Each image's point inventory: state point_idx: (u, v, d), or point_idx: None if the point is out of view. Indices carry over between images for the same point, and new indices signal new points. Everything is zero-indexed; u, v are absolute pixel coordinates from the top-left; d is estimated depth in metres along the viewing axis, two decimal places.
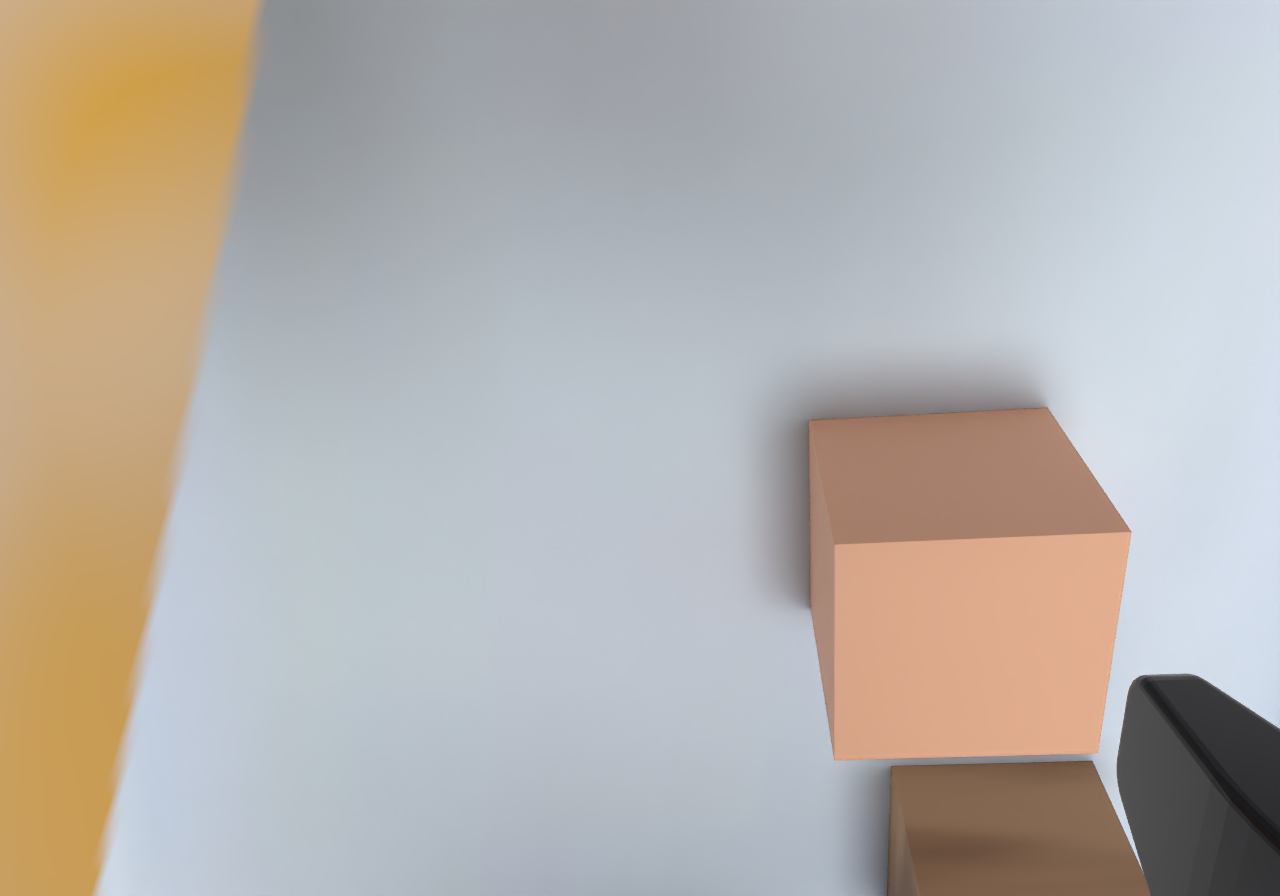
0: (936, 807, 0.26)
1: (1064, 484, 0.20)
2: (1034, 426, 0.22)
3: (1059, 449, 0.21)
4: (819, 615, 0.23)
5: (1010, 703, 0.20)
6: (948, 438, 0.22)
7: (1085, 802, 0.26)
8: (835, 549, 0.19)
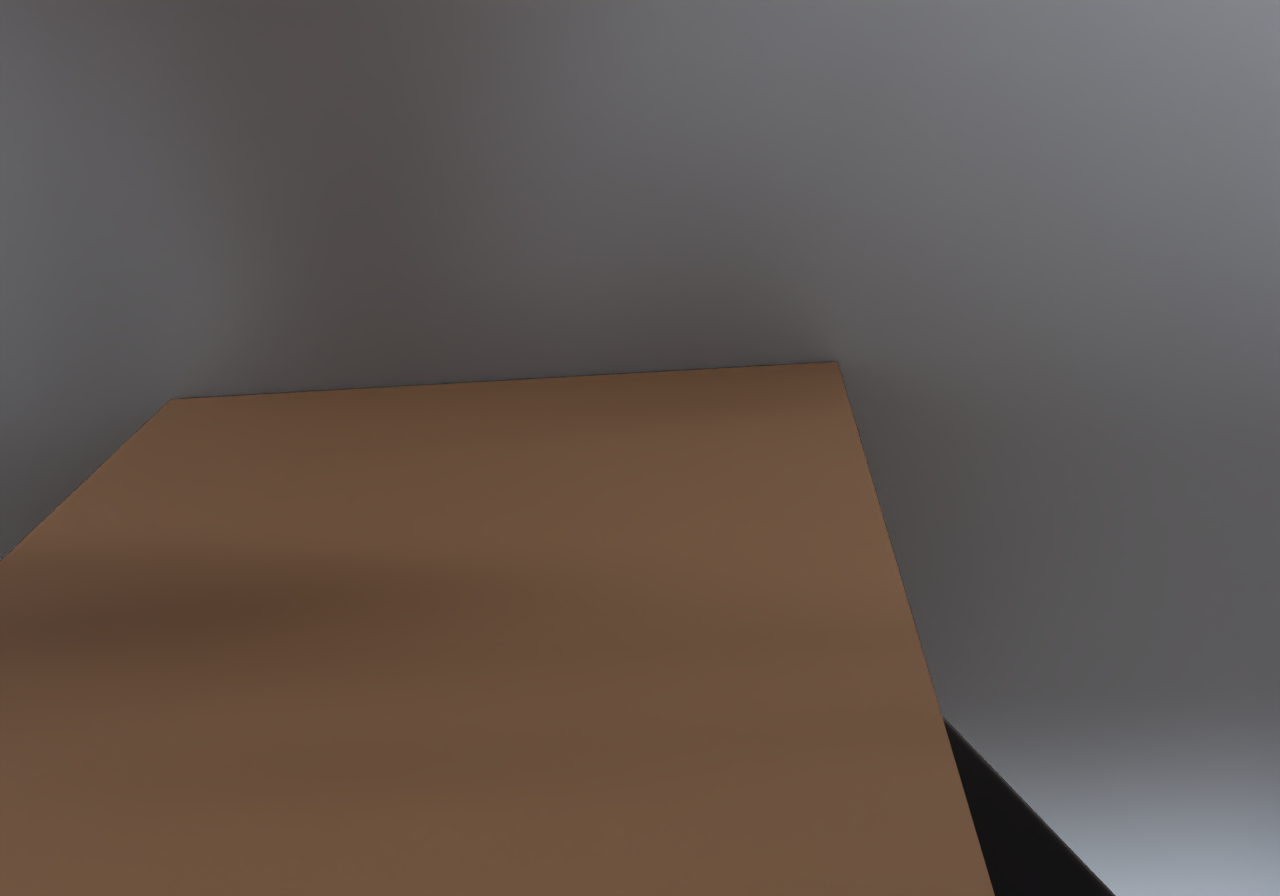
0: (196, 492, 0.07)
1: None
2: None
3: None
4: None
5: None
6: None
7: (765, 460, 0.06)
8: None
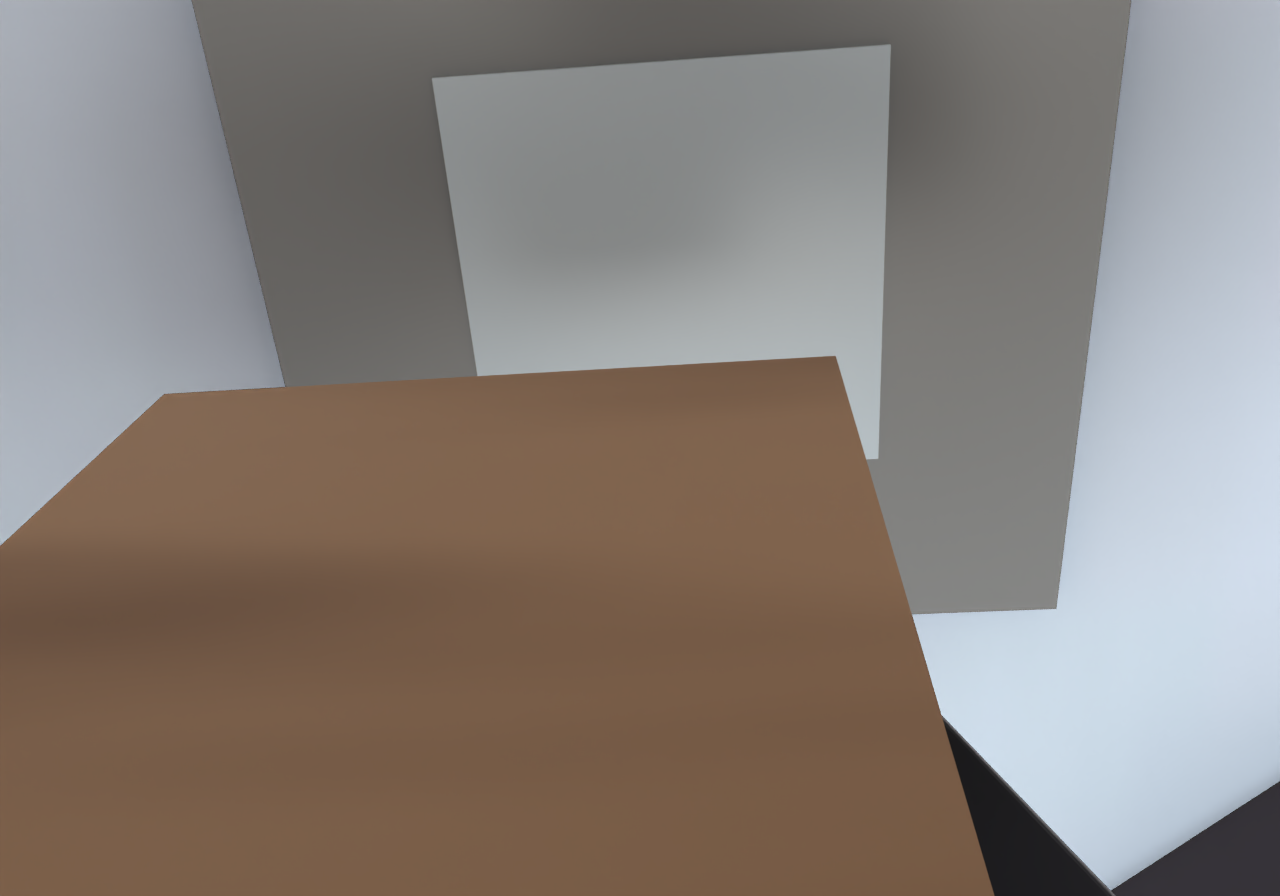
0: (188, 486, 0.07)
1: None
2: None
3: None
4: None
5: None
6: None
7: (762, 454, 0.06)
8: None
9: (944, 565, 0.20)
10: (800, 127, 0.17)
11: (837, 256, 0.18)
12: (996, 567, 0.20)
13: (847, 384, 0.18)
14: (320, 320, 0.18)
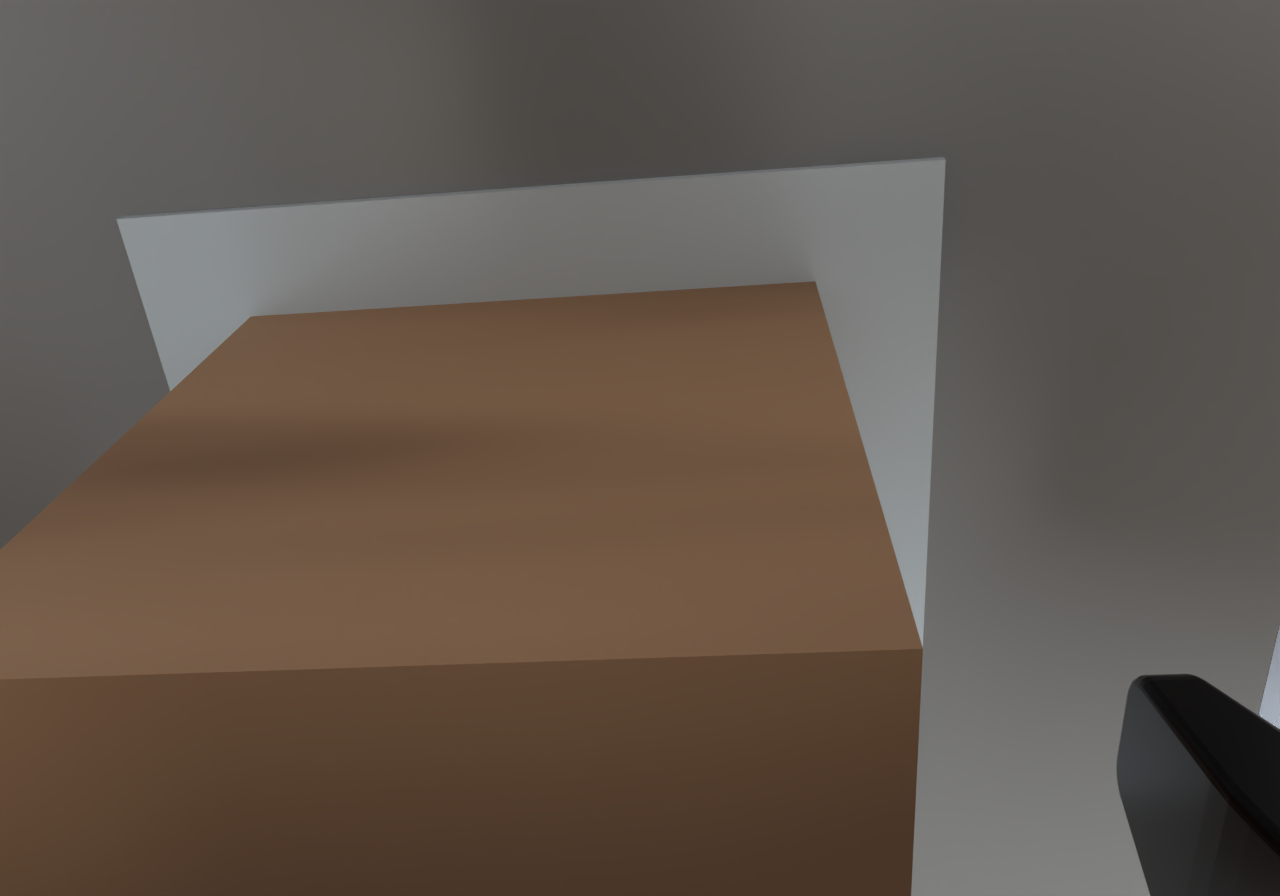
0: (285, 378, 0.08)
1: None
2: None
3: None
4: None
5: None
6: None
7: (752, 349, 0.08)
8: None
9: None
10: None
11: None
12: None
13: None
14: None
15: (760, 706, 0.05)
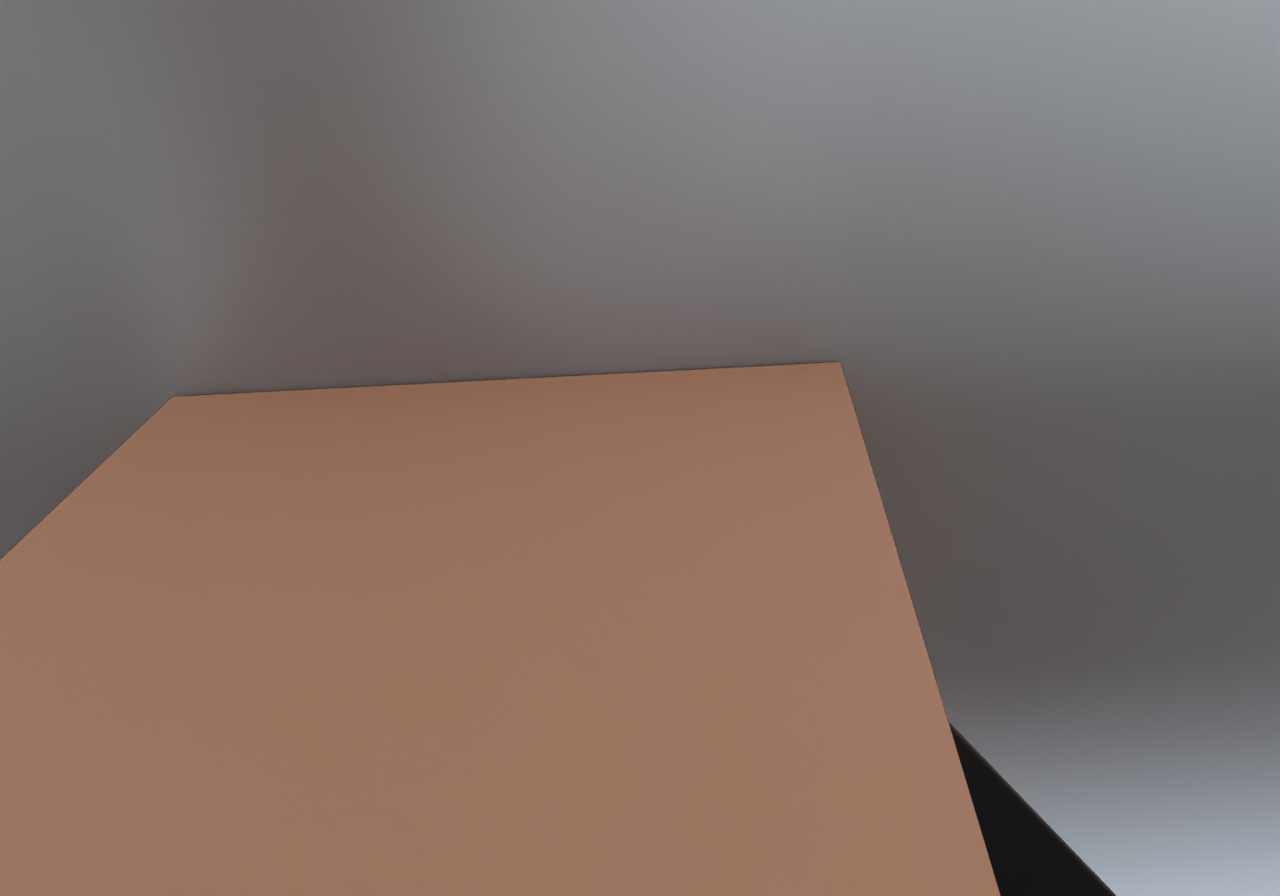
0: None
1: (788, 652, 0.05)
2: (777, 420, 0.07)
3: (825, 499, 0.06)
4: None
5: None
6: (496, 455, 0.07)
7: None
8: None
9: None
10: None
11: None
12: None
13: None
14: None
15: None
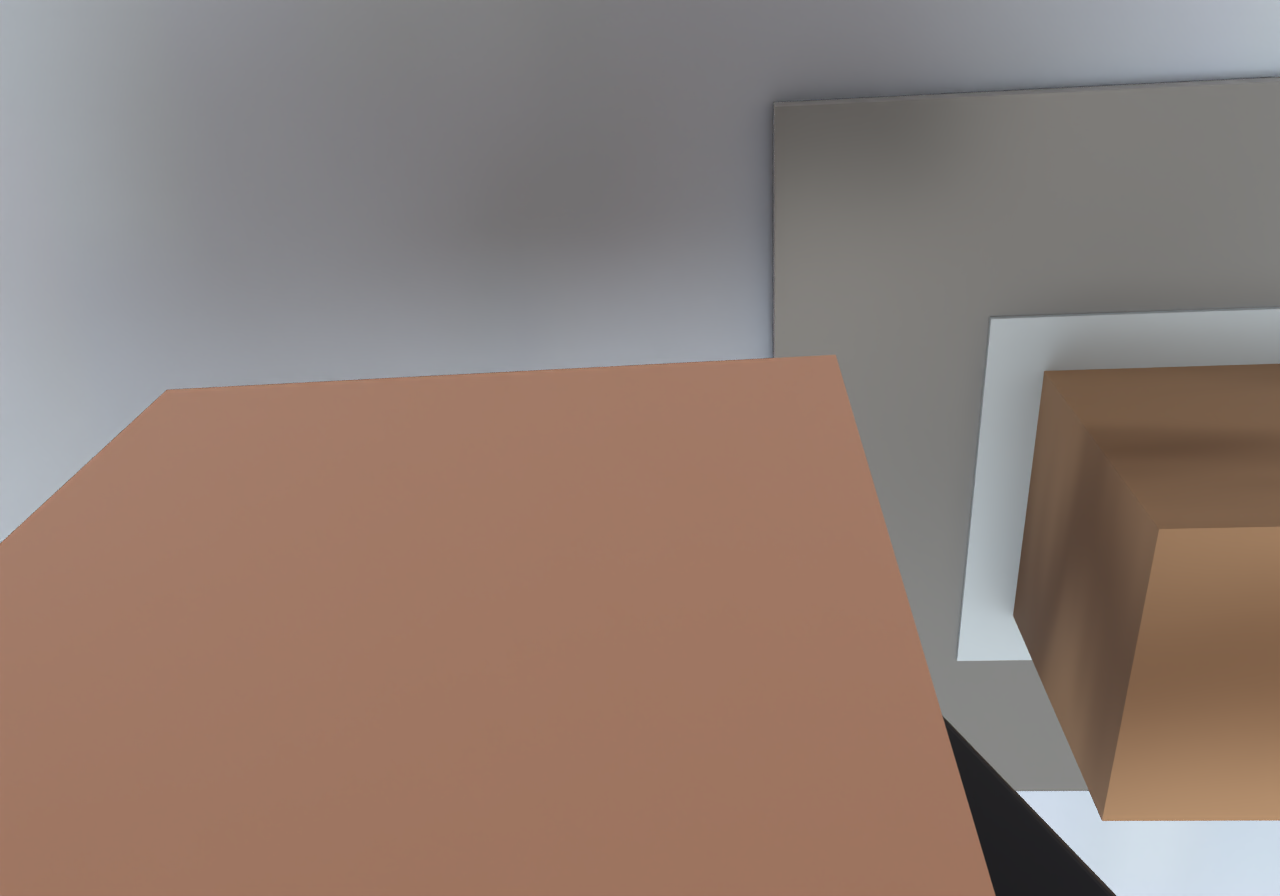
0: (1129, 407, 0.16)
1: (782, 642, 0.05)
2: (772, 410, 0.07)
3: (820, 490, 0.06)
4: None
5: None
6: (491, 446, 0.07)
7: None
8: None
9: None
10: None
11: None
12: None
13: None
14: None
15: None
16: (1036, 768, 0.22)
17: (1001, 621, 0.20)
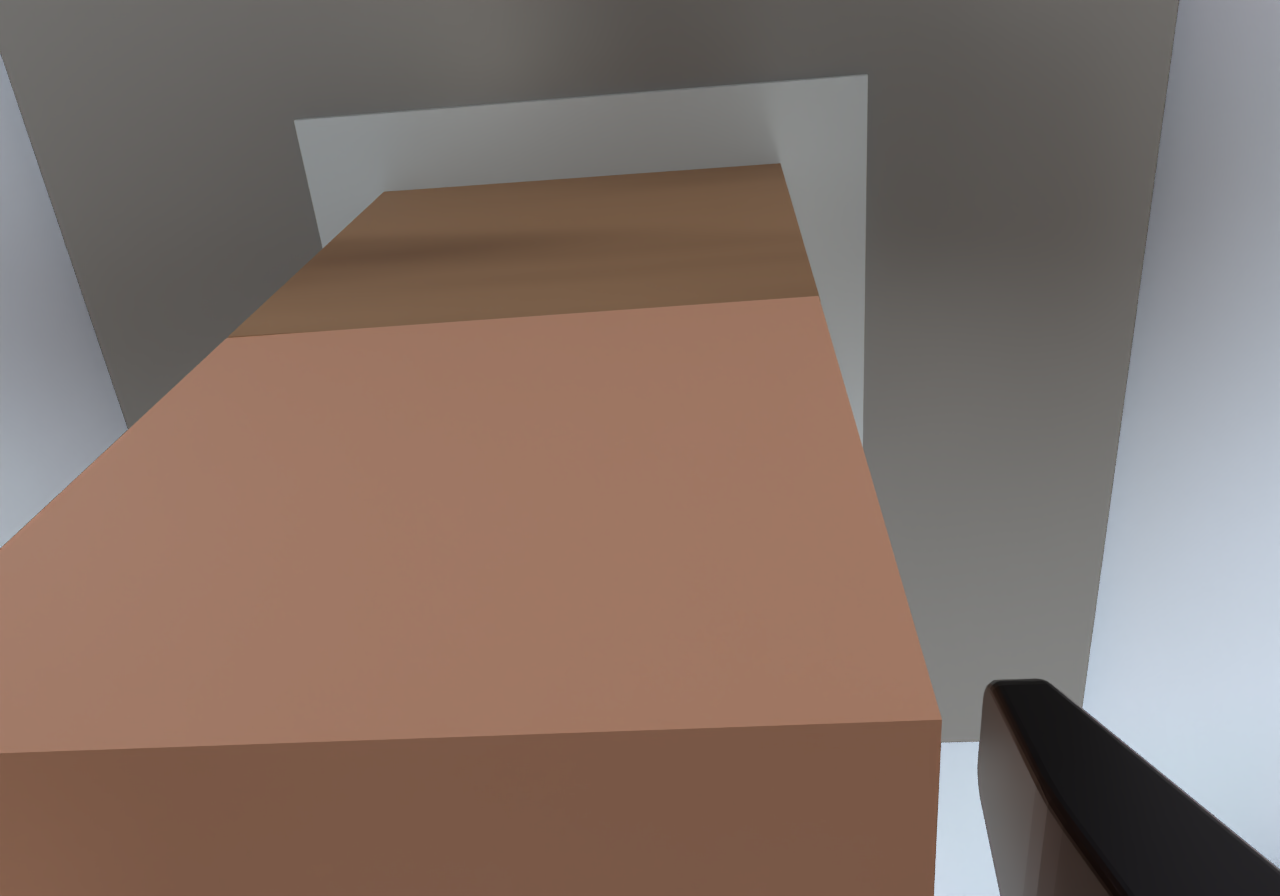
0: (422, 218, 0.12)
1: (765, 507, 0.06)
2: (761, 341, 0.08)
3: (800, 399, 0.07)
4: None
5: None
6: (517, 373, 0.08)
7: (735, 196, 0.12)
8: None
9: (943, 689, 0.17)
10: None
11: None
12: None
13: None
14: None
15: None
16: None
17: None
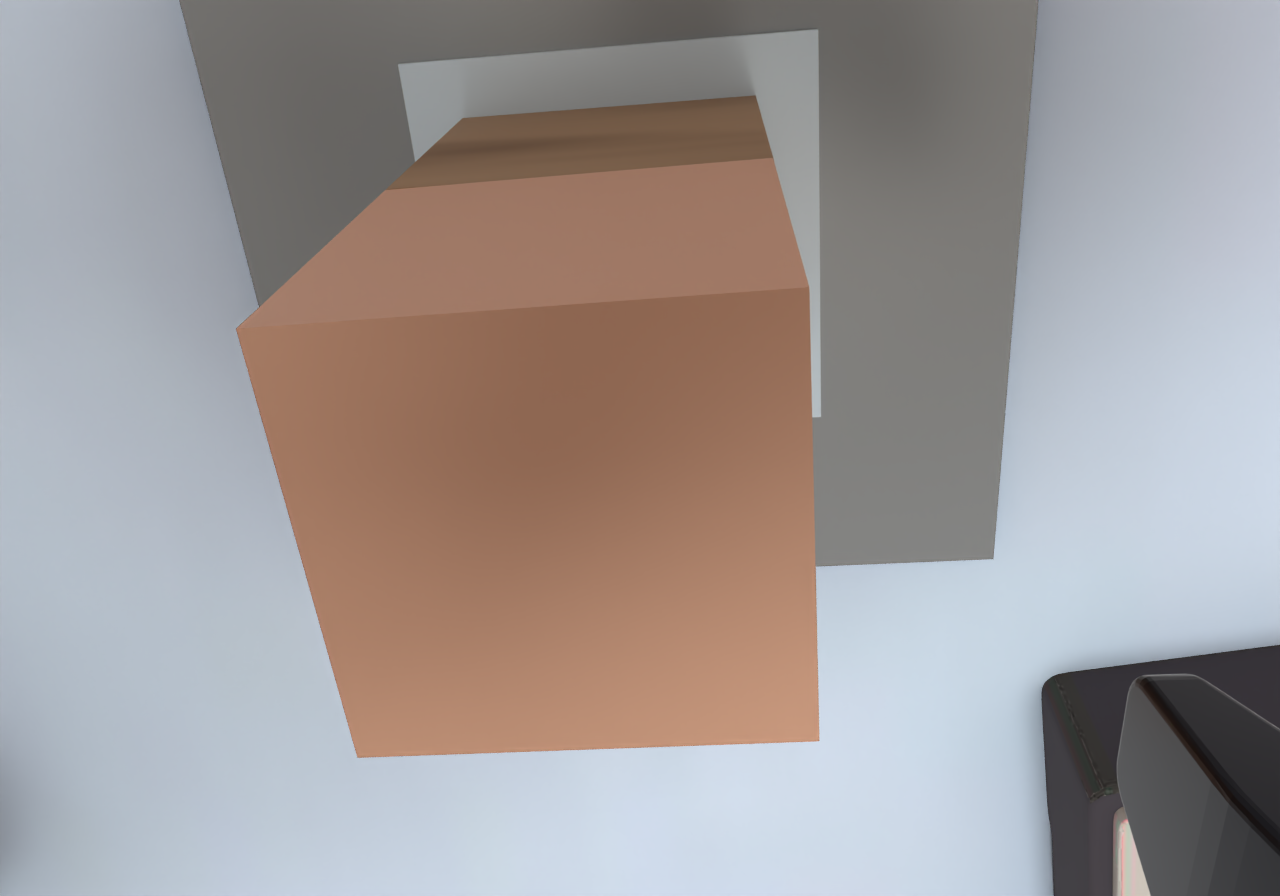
0: (497, 131, 0.17)
1: (731, 236, 0.10)
2: (735, 177, 0.13)
3: (756, 198, 0.12)
4: None
5: (643, 649, 0.11)
6: (582, 196, 0.12)
7: (721, 113, 0.17)
8: (240, 339, 0.09)
9: (886, 518, 0.22)
10: None
11: None
12: (935, 519, 0.21)
13: None
14: None
15: None
16: None
17: None
